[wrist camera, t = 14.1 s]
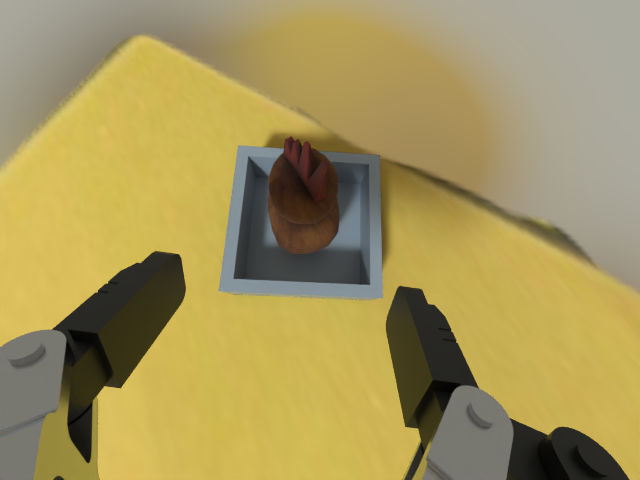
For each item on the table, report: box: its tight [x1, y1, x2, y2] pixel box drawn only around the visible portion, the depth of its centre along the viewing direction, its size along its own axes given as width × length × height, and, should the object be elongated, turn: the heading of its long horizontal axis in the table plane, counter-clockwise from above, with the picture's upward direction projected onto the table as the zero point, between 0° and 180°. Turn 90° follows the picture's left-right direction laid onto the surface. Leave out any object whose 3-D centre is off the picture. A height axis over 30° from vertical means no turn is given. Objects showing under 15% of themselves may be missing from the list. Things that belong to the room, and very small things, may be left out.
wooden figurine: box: [268, 137, 340, 254], centre depth 19 cm, size 7×6×15 cm
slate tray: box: [219, 146, 383, 300], centre depth 25 cm, size 13×13×5 cm
